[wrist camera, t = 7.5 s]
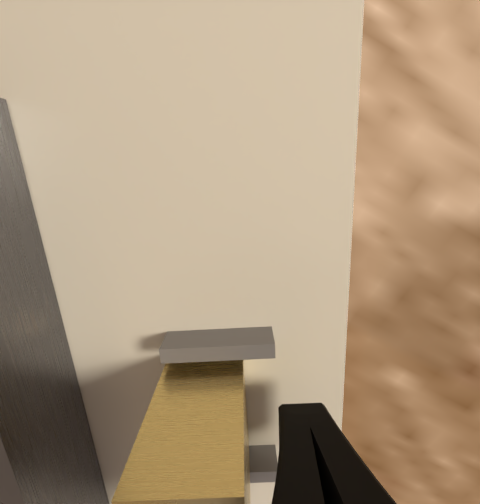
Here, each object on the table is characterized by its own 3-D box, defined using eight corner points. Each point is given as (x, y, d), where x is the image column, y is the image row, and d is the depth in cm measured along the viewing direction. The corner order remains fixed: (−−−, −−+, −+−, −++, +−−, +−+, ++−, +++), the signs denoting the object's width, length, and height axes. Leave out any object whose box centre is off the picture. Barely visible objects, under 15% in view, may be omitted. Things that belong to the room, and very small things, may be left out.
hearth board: (327, 525, 14) (362, 673, 10) (-74, 539, 14) (-201, 686, 10) (352, -133, 7) (499, -532, 3) (-402, -71, 8) (-1149, -353, 3)
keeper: (248, 440, 11) (254, 625, 6) (183, 443, 11) (143, 628, 6) (242, 349, 10) (244, 496, 5) (169, 352, 10) (111, 501, 5)
